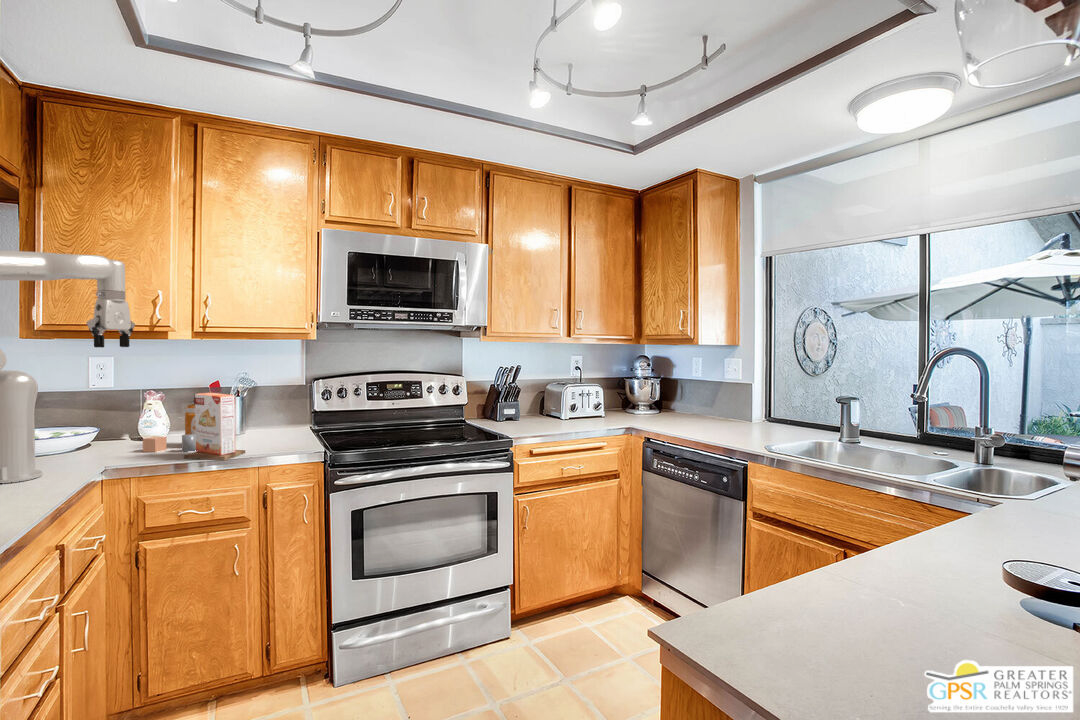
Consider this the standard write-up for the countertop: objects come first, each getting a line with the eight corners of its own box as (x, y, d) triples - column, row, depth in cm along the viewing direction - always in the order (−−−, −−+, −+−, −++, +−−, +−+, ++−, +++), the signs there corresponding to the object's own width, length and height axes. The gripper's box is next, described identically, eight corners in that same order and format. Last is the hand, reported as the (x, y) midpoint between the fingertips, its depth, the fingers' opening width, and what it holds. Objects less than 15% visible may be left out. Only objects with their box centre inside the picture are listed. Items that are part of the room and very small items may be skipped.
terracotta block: (155, 452, 197) (155, 439, 197) (142, 452, 197) (142, 438, 197) (166, 450, 202) (166, 436, 201) (154, 449, 202) (154, 436, 202)
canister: (186, 449, 203) (185, 396, 203) (184, 444, 212) (183, 393, 212) (213, 446, 209) (213, 394, 208) (210, 441, 218) (210, 392, 217)
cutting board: (224, 460, 186) (224, 456, 186) (184, 458, 188) (184, 455, 188) (245, 453, 197) (245, 450, 197) (207, 451, 199) (207, 448, 199)
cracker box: (194, 452, 193) (193, 393, 192) (211, 449, 198) (210, 392, 198) (219, 456, 187) (219, 395, 186) (236, 453, 192) (235, 394, 192)
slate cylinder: (190, 452, 198) (190, 436, 198) (179, 452, 198) (178, 435, 198) (199, 450, 202) (198, 434, 202) (188, 449, 203) (187, 433, 202)
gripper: (98, 294, 175) (99, 347, 175) (142, 298, 192) (143, 347, 193) (77, 294, 176) (78, 347, 176) (123, 298, 193) (124, 346, 193)
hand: (112, 347), depth 184 cm, fingers open, 9 cm apart
